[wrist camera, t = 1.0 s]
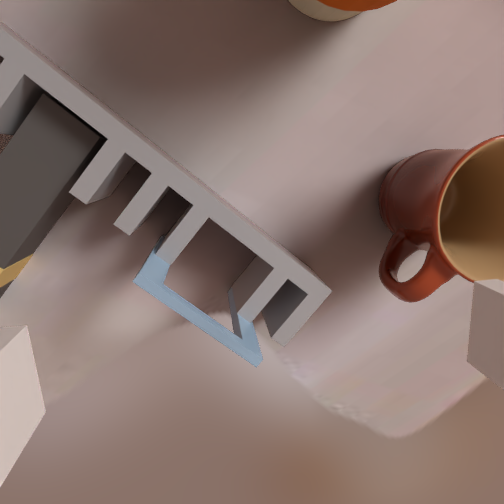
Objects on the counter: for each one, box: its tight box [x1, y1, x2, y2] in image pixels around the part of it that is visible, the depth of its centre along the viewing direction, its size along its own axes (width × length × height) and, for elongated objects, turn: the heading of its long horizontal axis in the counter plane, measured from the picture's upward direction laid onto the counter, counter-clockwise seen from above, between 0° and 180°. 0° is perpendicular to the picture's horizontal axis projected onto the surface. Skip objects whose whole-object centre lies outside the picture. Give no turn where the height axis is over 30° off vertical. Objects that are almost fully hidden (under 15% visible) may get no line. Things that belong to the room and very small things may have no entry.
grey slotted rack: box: [0, 21, 332, 347], centre depth 27 cm, size 28×5×6 cm, turn 51°
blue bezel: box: [132, 235, 263, 367], centre depth 27 cm, size 8×1×11 cm, turn 51°
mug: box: [379, 135, 504, 302], centre depth 28 cm, size 12×9×10 cm
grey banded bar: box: [0, 94, 108, 298], centre depth 27 cm, size 4×16×5 cm, turn 141°
